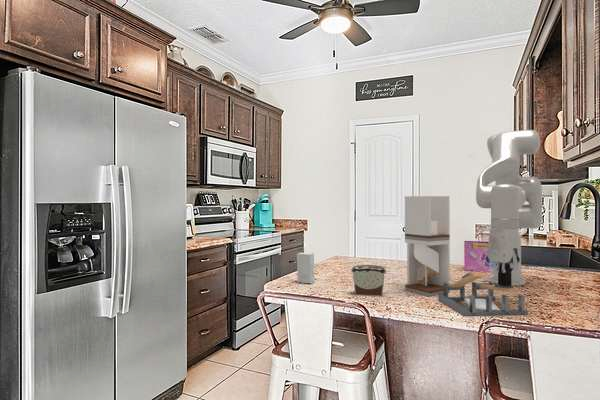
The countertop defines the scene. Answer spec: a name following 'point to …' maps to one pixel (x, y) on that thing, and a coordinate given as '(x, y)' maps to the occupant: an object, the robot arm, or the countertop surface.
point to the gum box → (477, 256)
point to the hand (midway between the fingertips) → (504, 285)
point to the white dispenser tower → (427, 244)
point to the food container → (368, 279)
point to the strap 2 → (496, 287)
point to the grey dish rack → (465, 310)
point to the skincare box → (305, 267)
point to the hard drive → (480, 304)
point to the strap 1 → (465, 281)
